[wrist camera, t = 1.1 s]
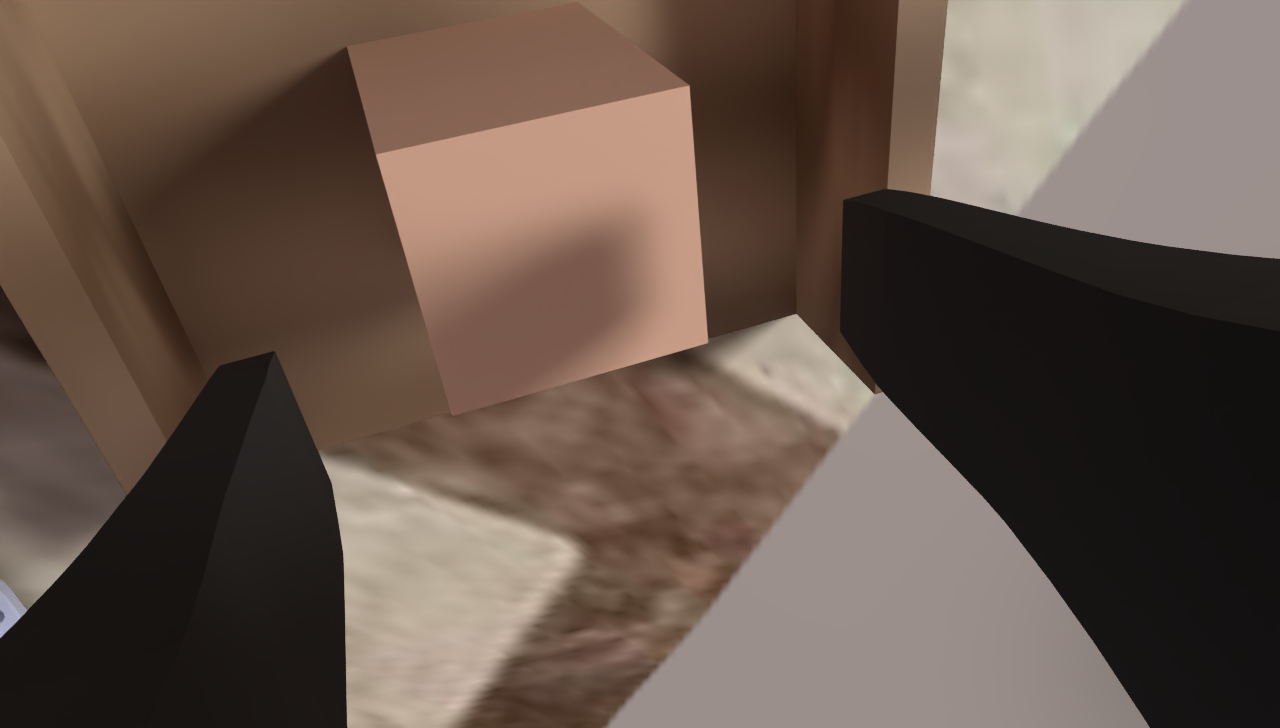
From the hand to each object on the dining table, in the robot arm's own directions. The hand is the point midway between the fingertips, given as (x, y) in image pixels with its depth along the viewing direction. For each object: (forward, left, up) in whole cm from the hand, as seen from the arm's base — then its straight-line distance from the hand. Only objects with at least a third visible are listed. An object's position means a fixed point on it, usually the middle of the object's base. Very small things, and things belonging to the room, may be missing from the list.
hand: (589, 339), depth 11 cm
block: (0, 0, -9) cm, 9 cm away
